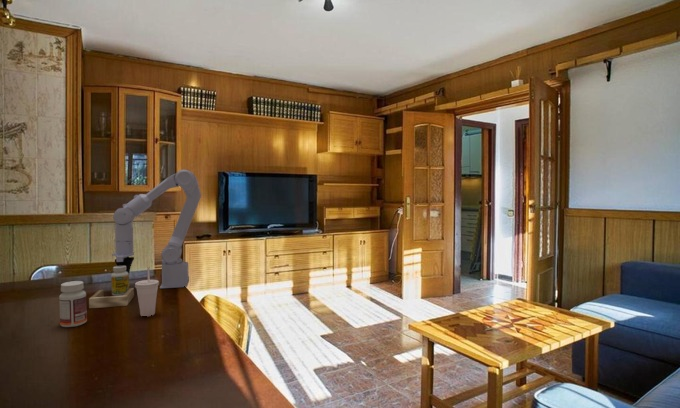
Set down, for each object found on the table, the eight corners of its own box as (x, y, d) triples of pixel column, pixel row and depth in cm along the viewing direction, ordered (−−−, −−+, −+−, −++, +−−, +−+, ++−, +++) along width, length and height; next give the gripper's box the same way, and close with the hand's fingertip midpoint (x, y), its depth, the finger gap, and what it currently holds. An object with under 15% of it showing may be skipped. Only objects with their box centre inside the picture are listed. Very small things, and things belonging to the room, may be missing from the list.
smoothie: (164, 312, 117) (163, 266, 117) (145, 319, 111) (144, 270, 111) (149, 309, 120) (148, 264, 119) (130, 316, 114) (129, 268, 113)
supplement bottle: (126, 290, 141) (126, 264, 140) (131, 293, 137) (130, 266, 136) (109, 293, 137) (109, 266, 136) (114, 296, 133) (113, 268, 133)
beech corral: (134, 296, 134) (133, 287, 134) (126, 305, 124) (126, 296, 124) (99, 298, 131) (99, 289, 131) (89, 308, 121) (89, 298, 121)
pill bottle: (88, 318, 112) (87, 279, 111) (85, 325, 106) (84, 284, 106) (62, 321, 109) (61, 281, 109) (57, 329, 104) (56, 287, 103)
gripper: (117, 238, 148) (117, 273, 149) (106, 244, 135) (106, 283, 135) (137, 238, 150) (138, 273, 151) (129, 243, 137) (129, 282, 137)
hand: (124, 277), depth 143 cm, fingers closed
